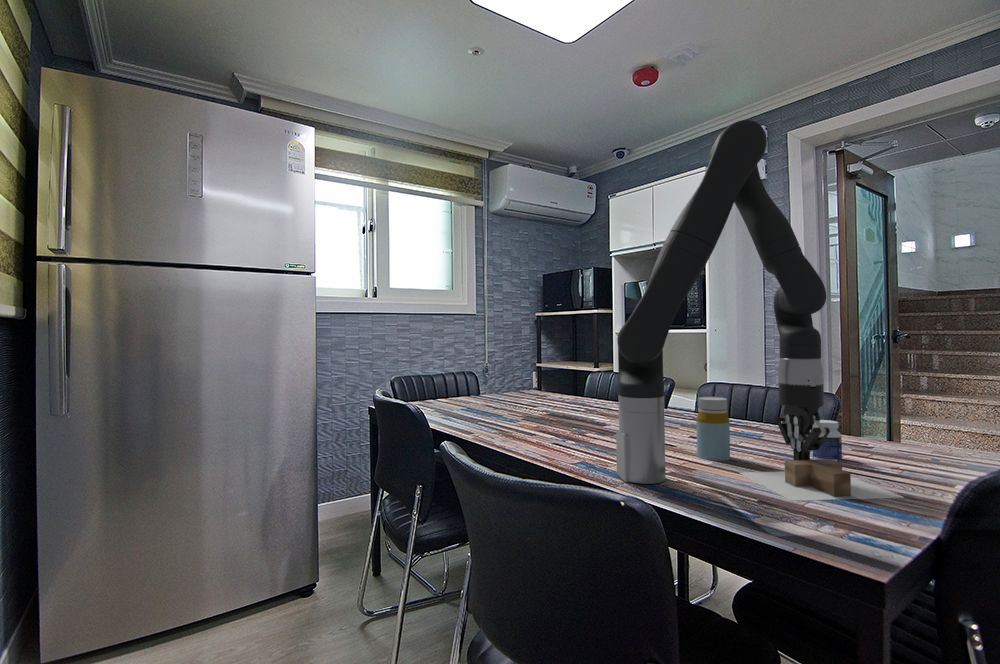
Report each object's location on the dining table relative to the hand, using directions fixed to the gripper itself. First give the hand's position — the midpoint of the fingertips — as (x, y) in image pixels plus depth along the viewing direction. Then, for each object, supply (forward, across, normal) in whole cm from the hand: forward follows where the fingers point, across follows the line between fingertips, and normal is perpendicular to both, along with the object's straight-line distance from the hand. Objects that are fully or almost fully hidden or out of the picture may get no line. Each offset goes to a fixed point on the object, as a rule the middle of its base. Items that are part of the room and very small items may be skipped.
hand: (801, 469), depth 97 cm
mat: (+3, +4, 0) cm, 5 cm away
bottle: (+3, -18, -9) cm, 20 cm away
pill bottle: (+3, -14, +15) cm, 20 cm away
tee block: (+2, +6, 0) cm, 7 cm away
